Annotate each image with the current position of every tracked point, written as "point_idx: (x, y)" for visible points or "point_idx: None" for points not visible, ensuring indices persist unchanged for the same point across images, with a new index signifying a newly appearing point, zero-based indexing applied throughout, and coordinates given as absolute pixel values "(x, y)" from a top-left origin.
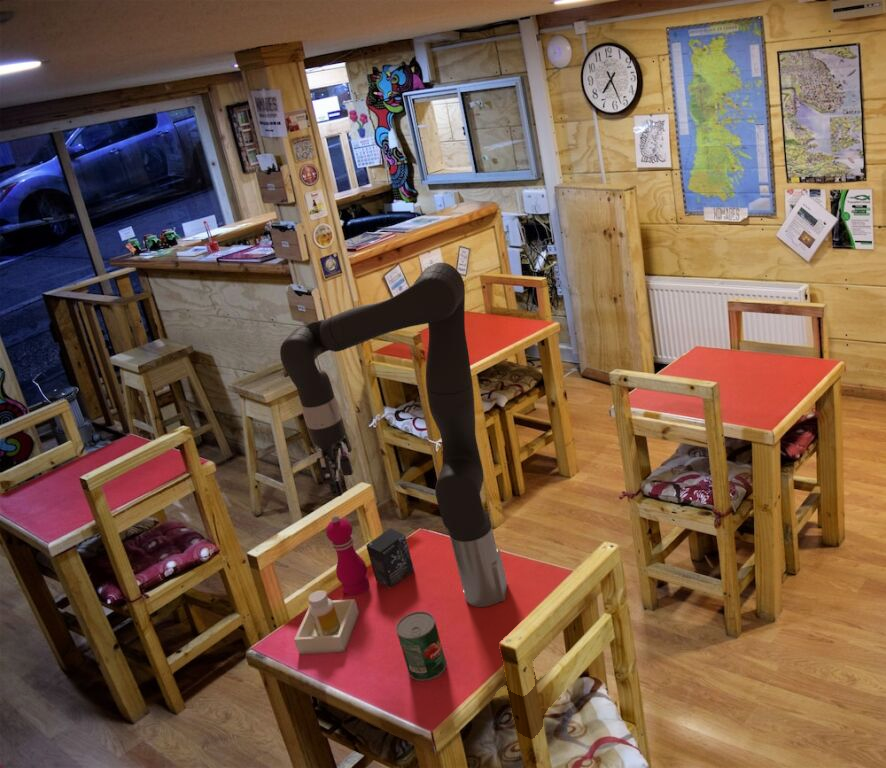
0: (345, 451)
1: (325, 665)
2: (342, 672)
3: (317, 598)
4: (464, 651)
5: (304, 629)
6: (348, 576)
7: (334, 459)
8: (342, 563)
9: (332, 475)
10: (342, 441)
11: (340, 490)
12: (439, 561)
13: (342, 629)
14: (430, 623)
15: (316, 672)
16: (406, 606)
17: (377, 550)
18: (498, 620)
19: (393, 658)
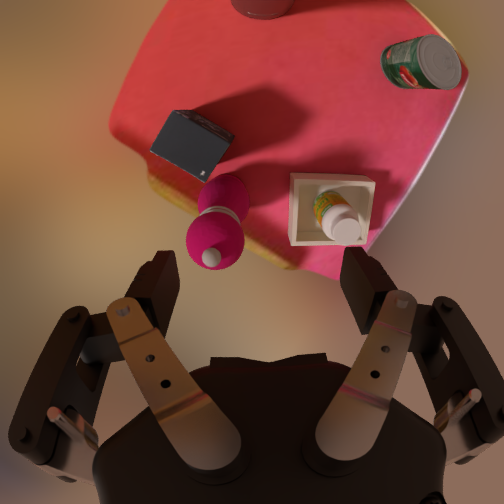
0: (175, 361)
1: (383, 194)
2: (397, 170)
3: (354, 230)
4: (377, 23)
5: None
6: (248, 202)
7: (392, 400)
8: (239, 217)
9: (466, 328)
10: (75, 395)
11: (369, 258)
12: (170, 76)
13: (361, 181)
14: (437, 41)
15: (391, 203)
16: (281, 101)
17: (224, 152)
18: None
19: (385, 107)
